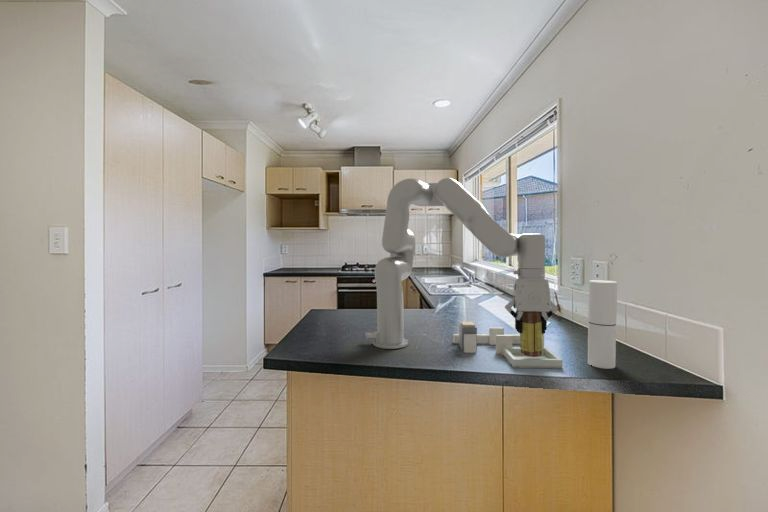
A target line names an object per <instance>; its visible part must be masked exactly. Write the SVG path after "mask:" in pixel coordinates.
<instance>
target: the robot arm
mask: <svg viewBox="0 0 768 512" xmlns="http://www.w3.org/2000/svg"><path fill="white" fill-rule="evenodd" d="M411 205H413V206H418V207H445V208H446V209H447V210H448V211H449V212H450V213H451V214H453V215H454V217H455V218H456V219H458V220H459V221H460V222H461V223H462V225H464V227H465V228H466V229H467V230H468V231H470V232H471V234H472V235H473V236H474V237H475V238H476V239H477V240H478V241H479V242H480V243H481V244H482V245H484V247H485V248H486V249H487V250H489V252H491V253H492V254H493V256H495V257H498V258H502V259H503V258H509V257H514V256H516V257H517V256H518V263H517V264H518V265H517V269H514V270H513V275H516V276H517V277H516V278H515V281H514V287H513V293H512V299H511V300H510V301H509V302H508V303H506V305H504V309H505V310H506V311H507V312H508V313H509V314H510V315H511V316H512V317H513V318H514V329H515V330H516V332H518V333H519V334H520V333H522V320H521V316H522V314H523V312H533V311H535V312H541V321H542V333H544V334H546V331H547V329H548V328H547V324H548V322H547V321H548V320H549V318H550V317H551V316H552V315H553V314H554V313H555V312H557V310H558V306H557V305H556V304H555V303H554V302H553V301H552V300H551V291H550V284H549V279H548V278H545V277H546V275H545V273H546V237H545V235H544V234H543V233H533V232H532V233H522V234H517V233H516V234H515V233H509V232H508V231H507V230H506V229H505V228H504V227H503V226H501V225H500V224H499V223H498V222H497V220H495V219H494V218H493V216H491V214H489V212H488V211H487V209H486V208H485V206H484V205H483V204H482V203H481V202H480V201H479V200H477V198H476V197H475V196H474V195H472V193H470V192H469V191H468V190H466V188H464V186H463V184H462V183H461V182H459V181H457V180H456V179H454V178H452V177H445V178H442V179H440V180H439V181H438V182H429V183H428V182H424V181H422V180H420V179H417V178H405V179H402V180H400V181H398V182H397V183H395V185H393V187H392V188H391V189H390V191H389V192H388V196H387V201H386V206H385V207H386V209H385V217H384V221H383V222H384V223H383V229H382V230H383V231H382V239H381V246H382V248H383V250H384V251H385V252H387V253H389V256H386V257H384V258H381V259H380V260H379V261H378V262H377V263H376V265H375V268H374V280H375V287H376V312H377V313H376V314H377V315H376V316H377V317H376V318H377V319H376V320H377V322H376V323H377V324H376V325H377V326H376V327H377V330H376V331H374V332H365V334H364V335H365V337H364V338H366V339H368V340H373V341H372V344H373V346H374V347H376V348H379V349H383V350H385V349H386V350H395V349H396V350H397V349H402V348H405V347H407V346H408V345H409V342H408V341H409V340H408V339H406V338H405V336H404V335H405V334H404V333H405V332H404V330H405V329H404V327H405V326H404V323H405V322H404V321H405V320H404V317H405V315H404V313H405V312H404V289H403V284H402V281H404V280H406V279H408V278H409V277H410V275H411V273H412V270H413V264H414V256H415V251H416V238H415V234H414V233H413V231H412V230H410V228H409V222H410V206H411ZM512 307H513V308H512ZM514 309H515V310H516V311H514Z"/></svg>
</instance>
